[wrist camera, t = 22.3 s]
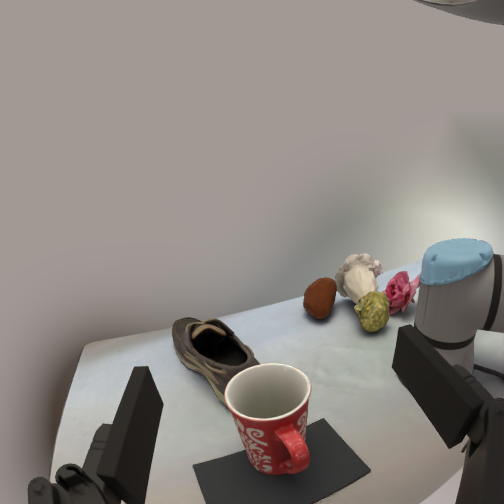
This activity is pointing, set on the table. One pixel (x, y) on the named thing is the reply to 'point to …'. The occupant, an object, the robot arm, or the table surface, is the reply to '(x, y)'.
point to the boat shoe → (211, 351)
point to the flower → (401, 291)
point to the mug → (271, 416)
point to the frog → (364, 290)
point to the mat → (284, 485)
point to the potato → (320, 297)
